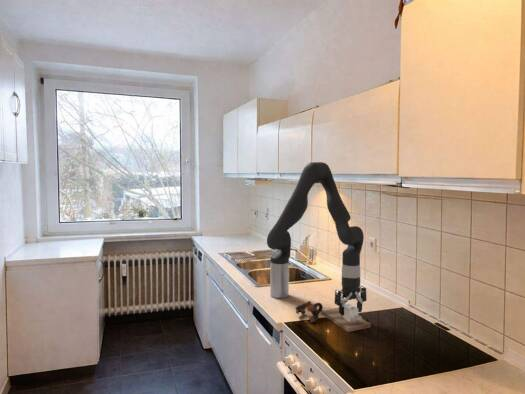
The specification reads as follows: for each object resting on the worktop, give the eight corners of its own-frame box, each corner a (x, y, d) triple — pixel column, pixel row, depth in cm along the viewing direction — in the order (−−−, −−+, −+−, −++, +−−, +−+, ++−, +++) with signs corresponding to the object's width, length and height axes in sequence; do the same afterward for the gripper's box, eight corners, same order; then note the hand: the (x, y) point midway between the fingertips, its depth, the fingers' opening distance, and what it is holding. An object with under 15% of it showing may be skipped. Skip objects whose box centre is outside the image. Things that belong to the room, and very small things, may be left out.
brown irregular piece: (306, 326, 156) (297, 306, 158) (298, 327, 164) (290, 309, 166) (329, 314, 160) (321, 295, 162) (321, 316, 169) (313, 298, 171)
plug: (340, 316, 161) (340, 303, 160) (347, 315, 162) (347, 302, 162) (356, 325, 151) (356, 312, 150) (363, 324, 152) (363, 311, 152)
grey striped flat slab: (321, 313, 167) (321, 310, 167) (341, 310, 171) (341, 307, 171) (348, 331, 149) (348, 328, 149) (370, 327, 153) (370, 323, 153)
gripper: (359, 270, 162) (359, 307, 163) (331, 274, 157) (331, 312, 158) (370, 275, 155) (370, 313, 156) (341, 279, 150) (341, 319, 151)
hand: (350, 313), depth 157 cm, fingers open, 8 cm apart
